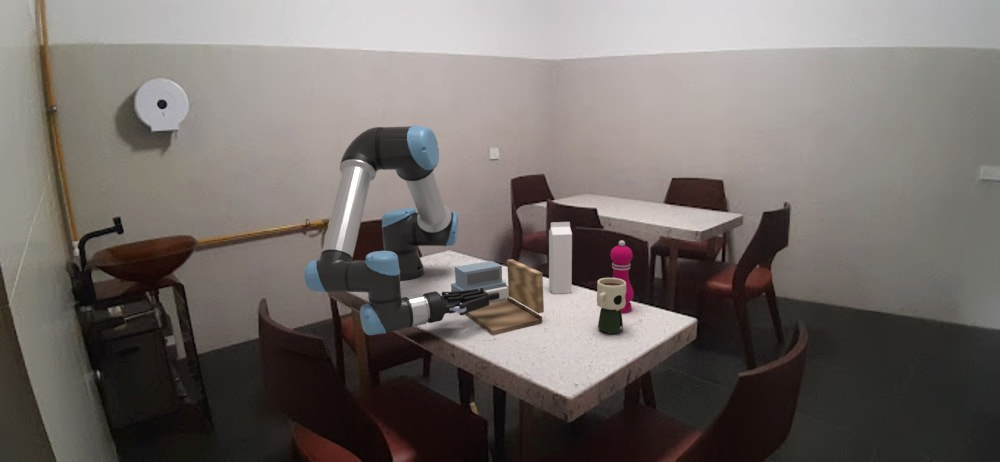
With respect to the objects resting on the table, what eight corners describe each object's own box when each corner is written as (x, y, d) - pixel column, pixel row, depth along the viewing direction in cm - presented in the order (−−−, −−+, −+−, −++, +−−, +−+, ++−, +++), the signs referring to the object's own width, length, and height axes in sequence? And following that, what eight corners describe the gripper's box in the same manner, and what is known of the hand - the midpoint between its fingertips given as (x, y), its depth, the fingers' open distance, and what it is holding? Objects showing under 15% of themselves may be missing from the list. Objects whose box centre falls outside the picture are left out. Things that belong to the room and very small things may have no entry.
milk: (571, 293, 159) (572, 223, 154) (552, 294, 158) (552, 224, 154) (567, 287, 165) (568, 219, 160) (548, 287, 164) (548, 220, 159)
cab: (444, 305, 151) (442, 267, 148) (500, 294, 159) (499, 258, 157) (455, 314, 144) (453, 274, 141) (513, 301, 153) (513, 264, 150)
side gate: (508, 296, 150) (506, 260, 147) (513, 295, 150) (512, 259, 148) (538, 313, 136) (537, 274, 133) (544, 312, 137) (542, 272, 134)
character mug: (611, 341, 125) (613, 290, 122) (586, 333, 129) (587, 284, 126) (633, 327, 132) (635, 279, 130) (609, 320, 137) (610, 273, 134)
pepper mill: (618, 315, 140) (620, 244, 136) (601, 307, 147) (603, 239, 142) (638, 310, 144) (641, 241, 139) (621, 303, 150) (623, 236, 145)
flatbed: (463, 312, 145) (462, 306, 145) (508, 302, 152) (508, 297, 151) (492, 335, 129) (492, 328, 129) (542, 323, 136) (542, 316, 136)
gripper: (416, 314, 134) (496, 298, 145) (435, 331, 123) (519, 312, 134) (415, 287, 133) (495, 272, 144) (433, 302, 121) (519, 285, 132)
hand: (507, 292), depth 139 cm, fingers closed
